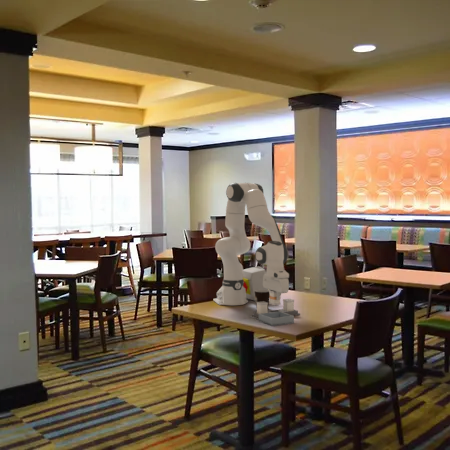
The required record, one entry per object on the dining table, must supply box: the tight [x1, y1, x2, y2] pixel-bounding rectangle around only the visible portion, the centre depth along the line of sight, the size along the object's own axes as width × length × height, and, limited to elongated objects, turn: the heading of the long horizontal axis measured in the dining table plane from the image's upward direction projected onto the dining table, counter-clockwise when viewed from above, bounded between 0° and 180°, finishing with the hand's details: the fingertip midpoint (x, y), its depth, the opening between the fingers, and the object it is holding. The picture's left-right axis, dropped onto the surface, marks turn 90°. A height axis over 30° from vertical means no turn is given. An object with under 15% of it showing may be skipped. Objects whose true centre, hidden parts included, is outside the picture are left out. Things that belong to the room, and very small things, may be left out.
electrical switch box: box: [243, 265, 269, 302], centre depth 321 cm, size 15×15×20 cm
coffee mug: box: [255, 289, 270, 309], centre depth 295 cm, size 12×9×10 cm
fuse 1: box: [256, 301, 269, 314], centre depth 272 cm, size 4×4×7 cm
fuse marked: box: [268, 289, 281, 306], centre depth 275 cm, size 4×4×7 cm
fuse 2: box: [282, 298, 295, 311], centre depth 279 cm, size 4×4×7 cm
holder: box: [250, 308, 301, 321], centre depth 275 cm, size 8×25×2 cm, turn 116°
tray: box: [258, 311, 295, 327], centre depth 262 cm, size 13×13×4 cm
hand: (274, 299), depth 275 cm, fingers closed on fuse marked, 4 cm apart
